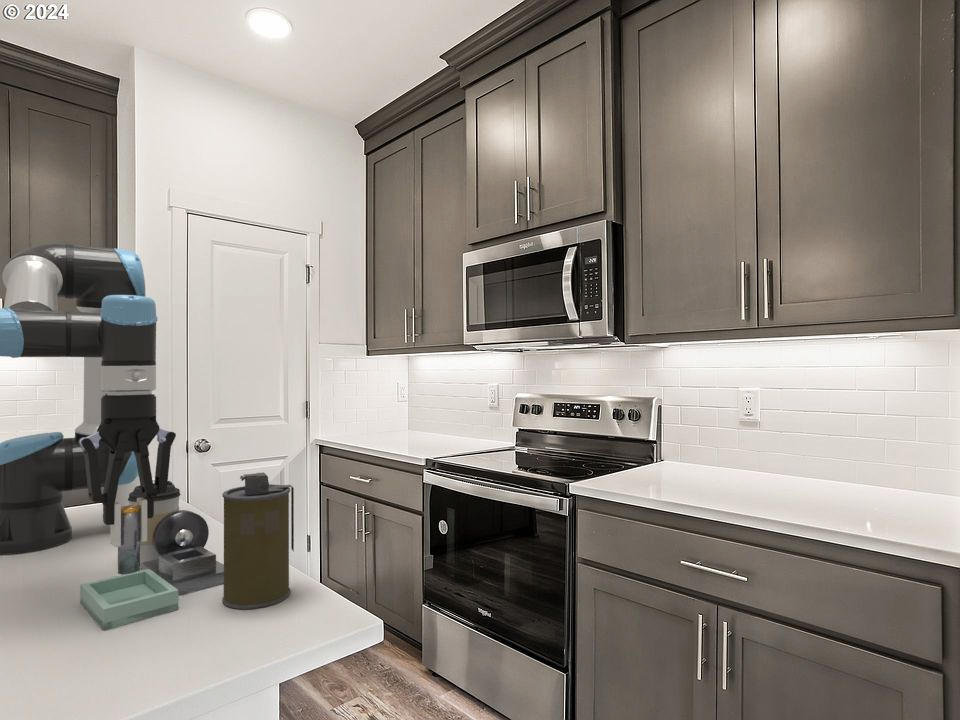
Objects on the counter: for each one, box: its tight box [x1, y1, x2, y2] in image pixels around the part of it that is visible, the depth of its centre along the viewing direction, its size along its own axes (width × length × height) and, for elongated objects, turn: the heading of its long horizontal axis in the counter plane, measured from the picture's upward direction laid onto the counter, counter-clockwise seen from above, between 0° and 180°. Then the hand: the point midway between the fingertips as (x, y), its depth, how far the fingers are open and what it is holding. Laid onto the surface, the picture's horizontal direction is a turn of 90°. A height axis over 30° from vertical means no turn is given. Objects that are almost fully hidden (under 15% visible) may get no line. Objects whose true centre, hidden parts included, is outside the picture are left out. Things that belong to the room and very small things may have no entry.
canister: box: [221, 472, 295, 610], centre depth 96 cm, size 11×10×20 cm
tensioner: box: [140, 509, 224, 596], centre depth 105 cm, size 16×10×11 cm, turn 46°
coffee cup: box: [128, 480, 182, 568], centre depth 114 cm, size 9×9×15 cm
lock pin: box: [117, 505, 141, 575], centre depth 92 cm, size 3×3×10 cm
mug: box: [115, 474, 155, 507], centre depth 151 cm, size 12×8×10 cm, turn 135°
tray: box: [79, 569, 179, 631], centre depth 92 cm, size 14×10×3 cm
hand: (128, 542), depth 92 cm, fingers closed on lock pin, 3 cm apart
